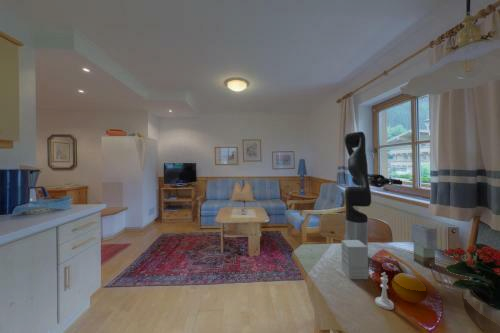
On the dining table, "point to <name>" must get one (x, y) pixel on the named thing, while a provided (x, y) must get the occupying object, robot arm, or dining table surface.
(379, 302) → the chess piece
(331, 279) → the dining table surface
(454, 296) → the dining table surface
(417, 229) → the medicine box
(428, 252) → the tower top block
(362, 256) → the supplement box
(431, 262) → the tower base block
